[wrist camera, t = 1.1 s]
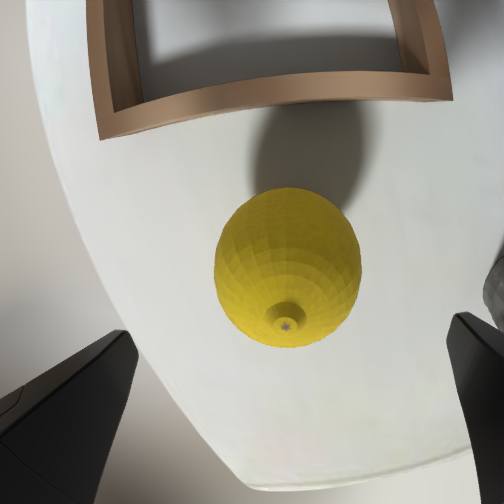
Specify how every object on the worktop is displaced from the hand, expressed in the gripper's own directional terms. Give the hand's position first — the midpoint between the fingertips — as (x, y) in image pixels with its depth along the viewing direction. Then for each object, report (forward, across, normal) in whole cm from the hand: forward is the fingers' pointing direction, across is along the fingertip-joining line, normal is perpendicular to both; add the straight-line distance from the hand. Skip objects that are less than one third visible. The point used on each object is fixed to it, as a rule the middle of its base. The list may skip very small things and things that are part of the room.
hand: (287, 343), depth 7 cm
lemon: (+9, 0, 0) cm, 9 cm away
